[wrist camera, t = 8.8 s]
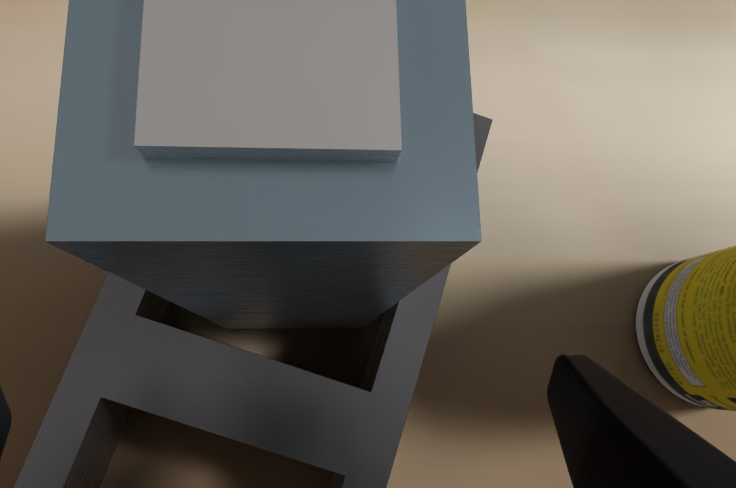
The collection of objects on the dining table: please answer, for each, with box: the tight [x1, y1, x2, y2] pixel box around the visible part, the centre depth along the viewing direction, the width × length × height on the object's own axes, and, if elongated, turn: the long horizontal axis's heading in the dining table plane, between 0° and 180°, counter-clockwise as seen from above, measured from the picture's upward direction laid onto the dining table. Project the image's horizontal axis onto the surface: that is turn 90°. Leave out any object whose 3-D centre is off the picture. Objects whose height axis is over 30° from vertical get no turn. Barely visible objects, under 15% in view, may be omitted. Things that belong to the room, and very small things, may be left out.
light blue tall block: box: [45, 0, 481, 329], centre depth 11 cm, size 4×4×12 cm
